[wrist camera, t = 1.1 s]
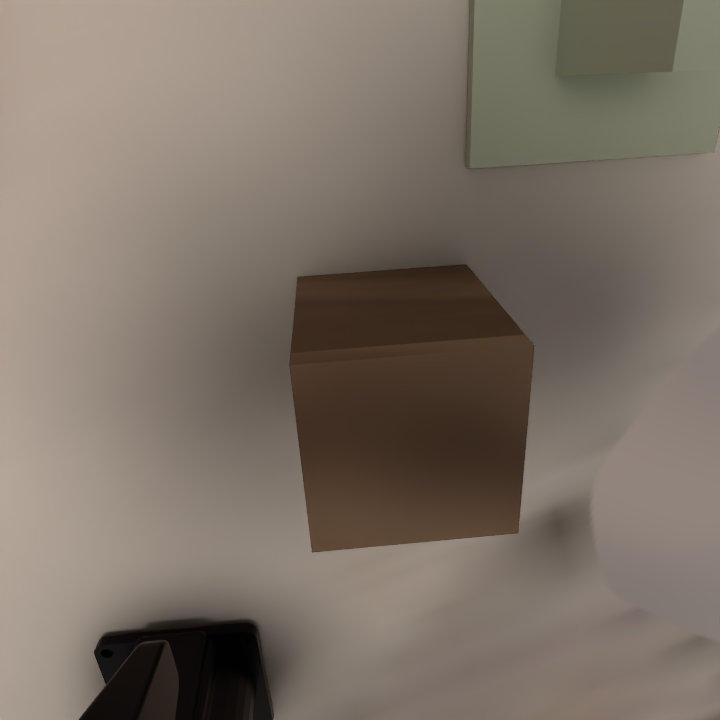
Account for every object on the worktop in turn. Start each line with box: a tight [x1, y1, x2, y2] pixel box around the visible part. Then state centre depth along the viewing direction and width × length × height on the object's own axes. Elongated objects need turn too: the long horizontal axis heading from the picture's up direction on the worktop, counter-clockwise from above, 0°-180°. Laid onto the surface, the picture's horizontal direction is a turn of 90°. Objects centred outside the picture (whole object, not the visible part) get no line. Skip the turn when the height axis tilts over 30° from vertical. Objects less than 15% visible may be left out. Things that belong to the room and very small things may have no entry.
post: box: [466, 0, 720, 169], centre depth 12 cm, size 7×7×6 cm
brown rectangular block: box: [290, 265, 534, 552], centre depth 16 cm, size 5×5×6 cm
